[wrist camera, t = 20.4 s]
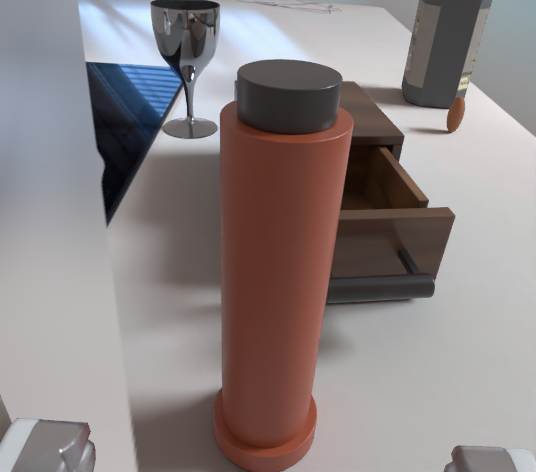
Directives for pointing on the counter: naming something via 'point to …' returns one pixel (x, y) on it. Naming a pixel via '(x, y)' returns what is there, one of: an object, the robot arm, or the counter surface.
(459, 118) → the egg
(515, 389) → the counter surface
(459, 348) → the counter surface
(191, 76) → the wine glass
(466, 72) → the liquor
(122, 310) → the counter surface
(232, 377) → the pepper mill
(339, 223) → the drawer
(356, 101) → the cabinet
